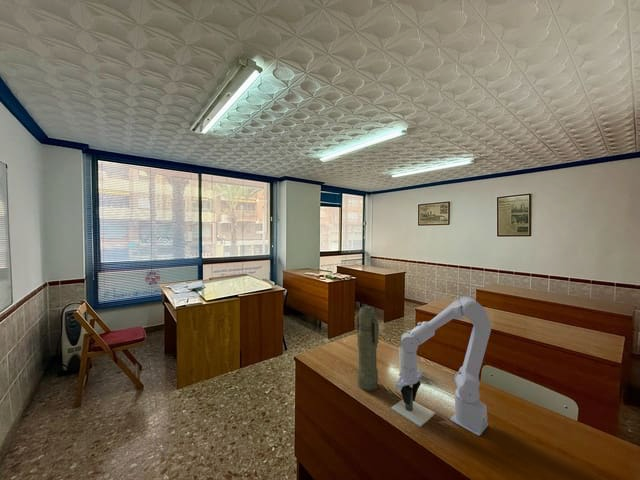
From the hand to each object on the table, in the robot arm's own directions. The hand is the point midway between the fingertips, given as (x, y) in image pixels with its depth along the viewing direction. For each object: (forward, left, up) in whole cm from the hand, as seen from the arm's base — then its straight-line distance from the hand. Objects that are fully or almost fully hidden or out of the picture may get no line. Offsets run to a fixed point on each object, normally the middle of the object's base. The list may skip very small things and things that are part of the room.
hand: (409, 401), depth 95 cm
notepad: (-1, -1, -3) cm, 4 cm away
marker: (0, 0, -3) cm, 3 cm away
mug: (+16, -25, -4) cm, 29 cm away
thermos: (+21, -1, -4) cm, 21 cm away
